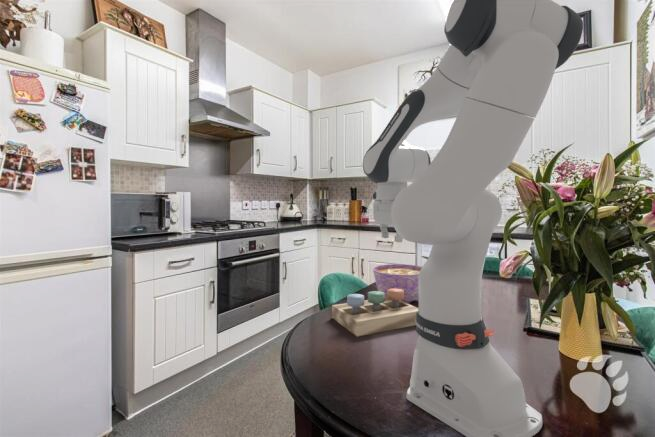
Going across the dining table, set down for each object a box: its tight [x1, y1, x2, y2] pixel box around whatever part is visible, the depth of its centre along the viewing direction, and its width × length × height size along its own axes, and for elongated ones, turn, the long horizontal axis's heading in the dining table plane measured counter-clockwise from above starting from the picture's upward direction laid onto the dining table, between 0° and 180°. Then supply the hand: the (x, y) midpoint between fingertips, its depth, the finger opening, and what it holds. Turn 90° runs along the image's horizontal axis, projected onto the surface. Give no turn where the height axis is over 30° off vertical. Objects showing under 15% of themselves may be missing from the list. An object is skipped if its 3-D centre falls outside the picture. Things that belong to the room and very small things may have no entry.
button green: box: [367, 290, 385, 312], centre depth 99 cm, size 5×5×6 cm
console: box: [331, 297, 419, 337], centre depth 99 cm, size 16×22×4 cm
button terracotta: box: [387, 288, 404, 309], centre depth 102 cm, size 5×5×6 cm
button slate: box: [346, 293, 365, 315], centre depth 96 cm, size 5×5×6 cm
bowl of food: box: [372, 263, 422, 304], centre depth 120 cm, size 20×20×12 cm
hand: (391, 239), depth 100 cm, fingers open, 8 cm apart
